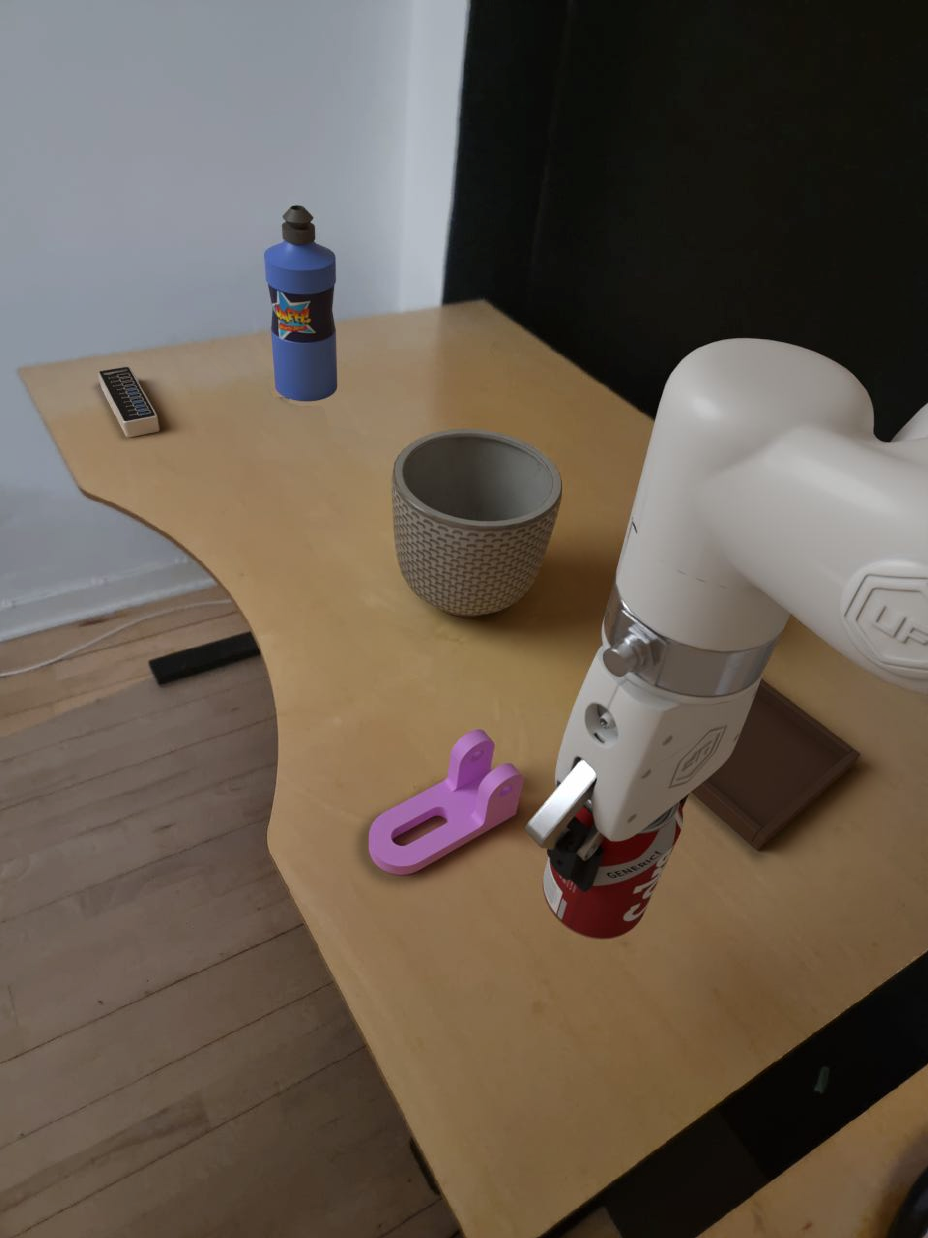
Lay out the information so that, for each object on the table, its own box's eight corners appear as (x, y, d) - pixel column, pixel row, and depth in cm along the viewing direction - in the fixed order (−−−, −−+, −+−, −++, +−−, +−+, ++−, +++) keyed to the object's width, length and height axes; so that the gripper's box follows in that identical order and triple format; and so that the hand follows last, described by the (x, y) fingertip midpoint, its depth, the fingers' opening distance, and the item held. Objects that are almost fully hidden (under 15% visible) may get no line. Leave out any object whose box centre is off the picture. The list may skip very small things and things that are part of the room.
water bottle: (323, 407, 121) (316, 226, 104) (263, 393, 122) (246, 212, 105) (347, 377, 128) (345, 202, 110) (290, 364, 129) (279, 189, 112)
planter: (432, 526, 104) (441, 410, 93) (562, 575, 99) (588, 460, 88) (358, 609, 92) (358, 488, 81) (502, 669, 88) (523, 550, 77)
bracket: (479, 770, 78) (487, 723, 74) (515, 814, 75) (526, 768, 71) (356, 835, 72) (356, 789, 68) (390, 886, 69) (393, 841, 65)
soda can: (536, 934, 53) (565, 828, 45) (545, 841, 58) (574, 730, 50) (643, 954, 53) (693, 851, 44) (644, 858, 58) (689, 750, 49)
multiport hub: (126, 437, 112) (123, 422, 110) (100, 385, 120) (96, 370, 119) (160, 431, 113) (157, 415, 112) (132, 380, 122) (129, 365, 120)
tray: (852, 766, 83) (861, 753, 81) (757, 851, 75) (764, 839, 73) (726, 668, 91) (732, 655, 89) (628, 736, 83) (632, 723, 81)
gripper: (621, 771, 32) (552, 975, 44) (865, 593, 41) (751, 805, 53) (490, 654, 36) (461, 871, 48) (739, 514, 45) (660, 728, 57)
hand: (613, 835), depth 50 cm, fingers closed on soda can, 6 cm apart
